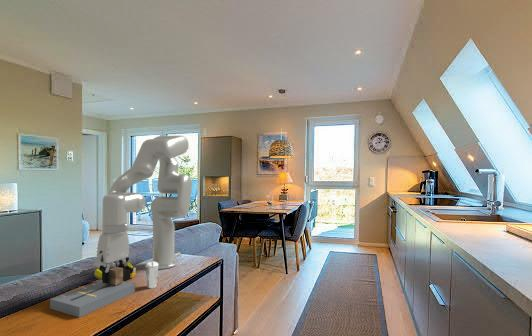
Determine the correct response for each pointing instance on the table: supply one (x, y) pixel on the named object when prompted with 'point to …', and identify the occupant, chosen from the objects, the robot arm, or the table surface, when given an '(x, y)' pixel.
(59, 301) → the slider panel
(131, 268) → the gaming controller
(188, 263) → the table surface
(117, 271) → the fader
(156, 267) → the milkshake
